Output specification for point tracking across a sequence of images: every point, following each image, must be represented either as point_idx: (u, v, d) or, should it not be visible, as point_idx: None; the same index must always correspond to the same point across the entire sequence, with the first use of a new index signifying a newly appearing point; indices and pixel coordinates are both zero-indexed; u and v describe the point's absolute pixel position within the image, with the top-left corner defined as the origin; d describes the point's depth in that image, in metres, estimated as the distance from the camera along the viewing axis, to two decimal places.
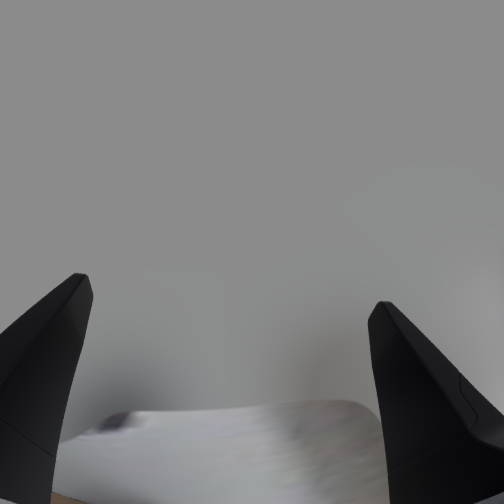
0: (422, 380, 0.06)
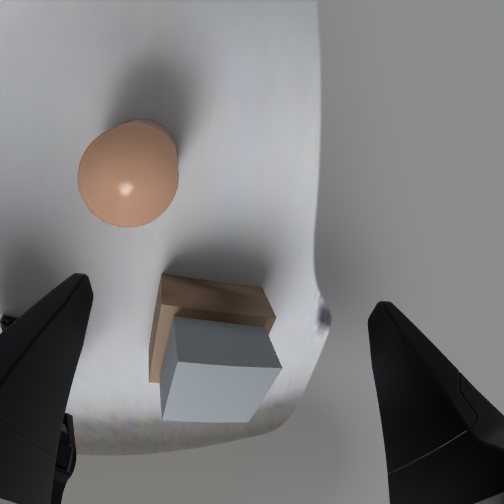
0: (422, 380, 0.06)
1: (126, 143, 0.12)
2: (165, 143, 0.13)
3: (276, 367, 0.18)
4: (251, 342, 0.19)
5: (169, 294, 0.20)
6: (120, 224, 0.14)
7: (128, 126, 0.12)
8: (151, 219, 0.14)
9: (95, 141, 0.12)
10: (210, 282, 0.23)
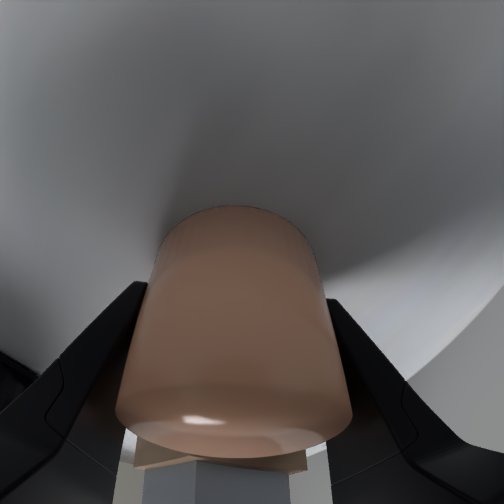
0: (357, 387, 0.06)
1: (270, 408, 0.05)
2: (350, 415, 0.05)
3: None
4: (271, 497, 0.13)
5: None
6: (184, 451, 0.07)
7: (300, 383, 0.04)
8: (242, 457, 0.07)
9: (187, 387, 0.04)
10: None
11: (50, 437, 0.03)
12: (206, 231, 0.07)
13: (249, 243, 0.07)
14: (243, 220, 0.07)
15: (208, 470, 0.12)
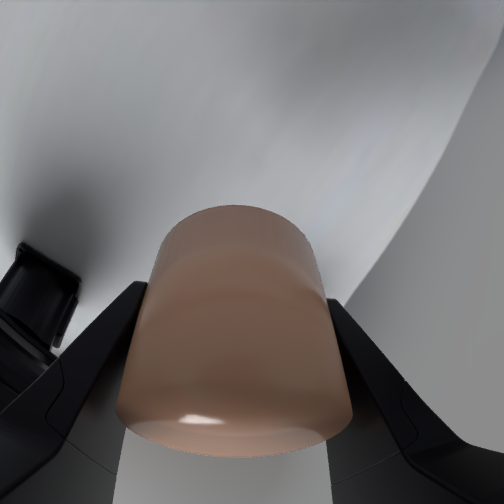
0: (357, 387, 0.06)
1: (271, 406, 0.05)
2: (350, 414, 0.05)
3: None
4: None
5: None
6: (184, 450, 0.07)
7: (300, 381, 0.04)
8: (242, 456, 0.07)
9: (187, 384, 0.04)
10: None
11: (50, 436, 0.03)
12: (207, 229, 0.07)
13: (249, 242, 0.07)
14: (243, 219, 0.07)
15: None
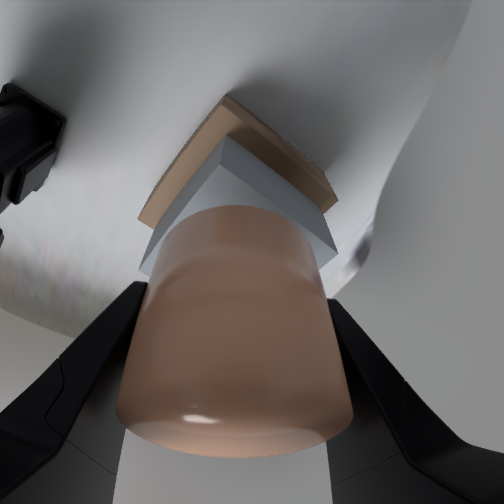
0: (357, 387, 0.06)
1: (271, 407, 0.05)
2: (350, 415, 0.05)
3: (332, 248, 0.13)
4: (306, 208, 0.14)
5: (231, 106, 0.14)
6: (184, 451, 0.07)
7: (301, 382, 0.04)
8: (242, 457, 0.07)
9: (188, 386, 0.04)
10: (274, 131, 0.17)
11: (50, 436, 0.03)
12: (206, 230, 0.07)
13: (249, 242, 0.07)
14: (243, 219, 0.07)
15: (237, 145, 0.14)
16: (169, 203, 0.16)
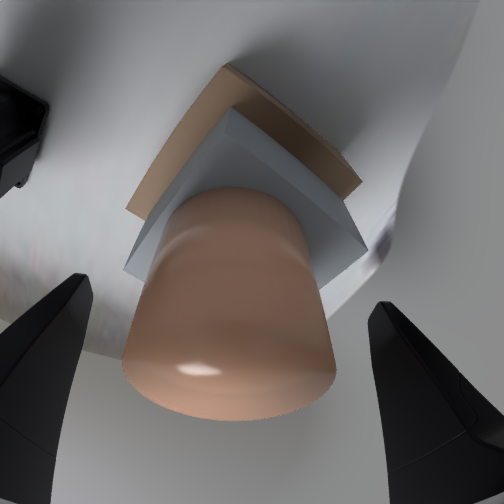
0: (422, 380, 0.06)
1: (263, 352, 0.06)
2: (334, 369, 0.06)
3: (361, 244, 0.10)
4: (328, 196, 0.12)
5: (234, 72, 0.11)
6: (180, 411, 0.08)
7: (289, 326, 0.05)
8: (234, 420, 0.08)
9: (194, 324, 0.05)
10: (284, 105, 0.14)
11: None
12: (211, 205, 0.08)
13: (248, 216, 0.08)
14: (243, 198, 0.08)
15: (245, 119, 0.11)
16: (162, 188, 0.13)
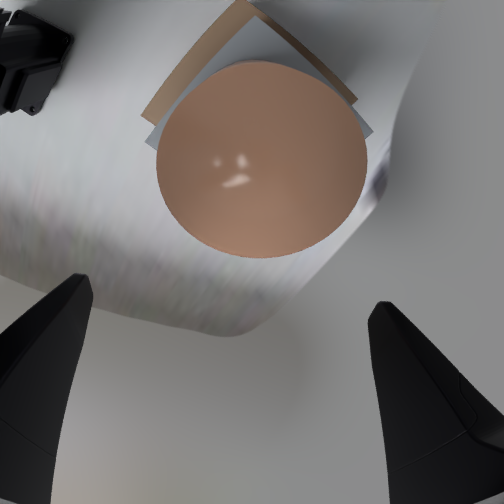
0: (422, 380, 0.06)
1: (303, 114, 0.06)
2: (365, 158, 0.07)
3: (367, 124, 0.11)
4: None
5: None
6: (202, 237, 0.08)
7: (326, 86, 0.06)
8: (259, 255, 0.08)
9: (247, 70, 0.05)
10: None
11: None
12: (245, 60, 0.08)
13: (277, 63, 0.08)
14: (271, 61, 0.09)
15: None
16: (178, 95, 0.13)
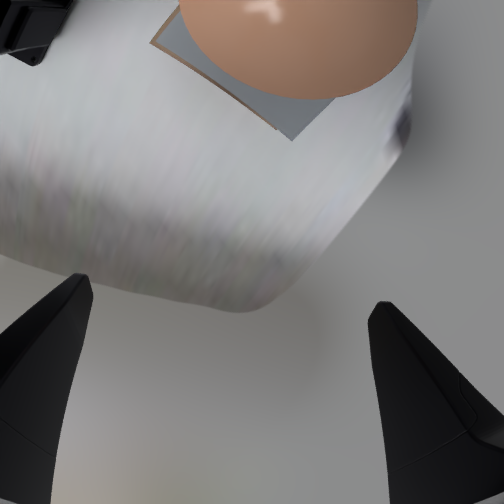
0: (422, 380, 0.06)
1: None
2: None
3: None
4: None
5: None
6: (230, 68, 0.05)
7: None
8: (305, 95, 0.06)
9: None
10: None
11: None
12: None
13: None
14: None
15: None
16: None
